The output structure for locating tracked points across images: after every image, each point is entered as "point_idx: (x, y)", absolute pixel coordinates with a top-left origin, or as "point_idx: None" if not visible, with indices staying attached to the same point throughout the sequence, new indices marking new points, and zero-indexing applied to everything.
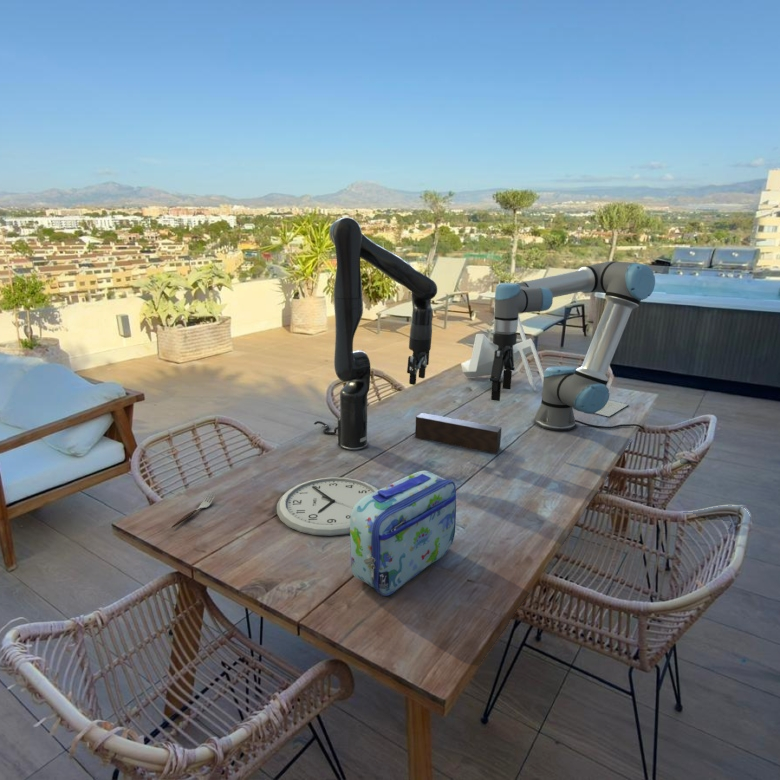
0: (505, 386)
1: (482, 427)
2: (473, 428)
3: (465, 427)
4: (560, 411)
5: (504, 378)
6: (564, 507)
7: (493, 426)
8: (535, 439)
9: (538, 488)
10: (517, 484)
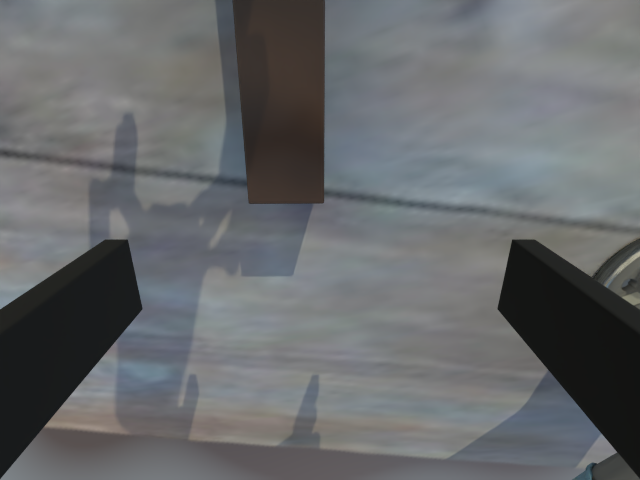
0: (519, 279)
1: (269, 111)
2: (239, 63)
3: (233, 6)
4: None
5: (584, 314)
6: None
7: (316, 162)
8: (473, 268)
9: None
10: None
